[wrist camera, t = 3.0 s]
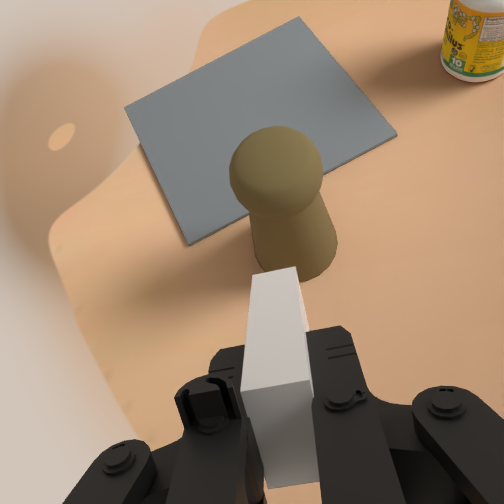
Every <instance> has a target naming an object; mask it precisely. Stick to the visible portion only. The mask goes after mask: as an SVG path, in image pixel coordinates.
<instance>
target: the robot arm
mask: <svg viewBox="0 0 504 504" xmlns="http://www.w3.org/2000/svg"><path fill="white" fill-rule="evenodd" d="M208 372H209V374H208V375H205V376H201V377H198V378H195V379H193V380H191V381H190V382H188V383H186V384H185V385H184V386H183V387H181V388H180V389H179V390H178V392H177V393H176V395H175V397H174V399H175V402H176V405H177V408H178V411H179V414H180V417H181V420H182V422H183V425H184V432H183V436H182V438H180V439H179V440H177V441H175V442H173V443H171V444H169V445H166V446H164V447H162V448H159V449H157V450H154V451H152V452H151V451H150V448H149V446H148V445H147V444H146V443H145V442H144V441H140V440H136V439H134V440H127V441H122V442H120V443H117V444H115V445H113V446H111V447H109V448H108V449H106V450H105V451H103V452H102V453H101V454H100V455H99V456H98V457H97V458H96V459H95V460H94V462H93V463H92V464H91V466H90V467H89V468H88V470H87V471H86V472H85V474H84V475H83V476H82V478H81V479H80V480H79V482H78V483H77V484H76V486H75V487H74V489H73V490H72V491H71V493H70V494H69V495H68V497H67V498H66V499H65V501H64V502H63V504H267V500H266V497H265V494H264V490H263V488H264V476H265V480H266V483H267V487H268V489H272V488H279V487H286V486H292V485H299V484H306V483H312V482H319V481H320V489H321V498H322V504H504V419H502V418H501V417H500V416H499V415H498V414H497V413H496V412H495V411H493V410H492V409H491V408H490V407H489V406H488V405H487V404H486V403H484V402H483V401H482V400H481V399H480V398H479V397H478V396H476V395H475V394H473V393H471V392H470V391H468V390H466V389H462V388H458V387H455V386H438V387H432V388H428V389H426V390H424V391H422V392H420V393H419V394H418V395H417V396H416V397H415V398H414V400H413V402H412V405H400V404H393V403H388V402H385V401H382V400H380V399H378V398H377V397H375V396H374V395H373V394H372V393H371V392H370V391H369V389H368V388H367V385H366V382H365V379H364V375H363V372H362V369H361V366H360V362H359V359H358V356H357V353H356V350H355V346H354V343H353V340H352V337H351V333H349V332H348V331H347V330H346V329H344V328H343V327H342V326H335V327H330V328H324V329H319V330H313V331H310V330H309V325H308V321H307V316H306V312H305V307H304V303H303V298H302V294H301V289H300V285H299V280H298V276H297V271H296V267H290V268H285V269H280V270H275V271H270V272H265V273H260V274H255V275H252V285H251V295H250V304H249V314H248V323H247V333H246V342H245V345H240V346H235V347H229V348H224V349H220V350H219V351H218V352H217V354H216V355H215V356H214V357H213V358H212V360H211V362H210V367H209V371H208Z"/></svg>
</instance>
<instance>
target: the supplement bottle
mask: <svg viewBox="0 0 504 504" xmlns="http://www.w3.org/2000/svg"><path fill="white" fill-rule="evenodd" d="M441 62H442V65H443V67H444V68H445V70H446V71H447V72H448V73H450V74H451V75H453V76H454V77H456V78H458V79H460V80H463V81H467V82H483V81H488V80H491V79H494V78H496V77H498V76H499V75H501V74H502V73H504V0H451V1H450V7H449V13H448V18H447V22H446V28H445V33H444V38H443V43H442V49H441Z"/></svg>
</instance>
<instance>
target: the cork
mask: <svg viewBox="0 0 504 504" xmlns="http://www.w3.org/2000/svg"><path fill="white" fill-rule="evenodd" d="M229 178H230V186H231V188H232V190H233V192H234V194H235V196H236V198H237V200H238V202H239V203H240V204H242V205H243V206H244V207H245V208H246V209H247V210H248V211H249V217H250V223H251V230H252V236H253V242H254V249H255V255H256V258H257V260H258V262H259V264H260V266H261V268H262V269H263V270H264V271H265V272H270V271H275V270H280V269H285V268H290V267H296V271H297V276H298V280H299V282H303V281H308V280H310V279H312V278H314V277H316V276H319V275H320V274H321V273H322V272H323V271H324V270H326V269H327V268H328V267H329V266H330V264H331V262H332V260H333V259H334V257H335V255H336V249H337V244H338V243H337V237H336V231H335V229H334V226H333V224H332V221H331V219H330V217H329V214H328V212H327V209H326V207H325V204H324V202H323V199H322V197H321V194H320V192H319V190H320V187H321V183H322V178H323V165H322V160H321V155H320V153H319V152H318V150H317V148H316V147H315V145H314V143H313V142H312V140H311V139H309V138H308V137H307V136H306V135H304V134H303V133H302V132H300V131H297V130H295V129H292V128H289V127H283V126H272V127H267V128H262V129H260V130H258V131H255V132H253V133H251V134H250V135H249V136H247V137H246V138H245V139H244V140H243V141H241V143H240V144H239V146H238V147H237V149H236V150H235V152H234V153H233V155H232V158H231V162H230V165H229Z"/></svg>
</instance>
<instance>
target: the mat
mask: <svg viewBox="0 0 504 504" xmlns="http://www.w3.org/2000/svg"><path fill="white" fill-rule="evenodd" d="M124 109H125V111H126V113H127V115H128V117H129V119H130V121H131V123H132V126H133V128H134V130H135V132H136V134H137V136H138V138H139V141H140V143H141V145H142V147H143V149H144V151H145V153H146V155H147V158H148V160H149V162H150V164H151V166H152V168H153V170H154V172H155V175H156V177H157V179H158V181H159V183H160V185H161V187H162V189H163V192H164V194H165V196H166V198H167V200H168V202H169V204H170V206H171V209H172V211H173V213H174V215H175V217H176V219H177V221H178V223H179V226H180V228H181V230H182V232H183V234H184V236H185V238H186V240H187V243H188V245H189V246H191V245H193V244H194V243H196V242H198V241H200V240H202V239H204V238H206V237H208V236H210V235H211V234H213V233H215V232H217V231H219V230H221V229H223V228H225V227H227V226H228V225H230V224H232V223H234V222H236V221H238V220H240V219H242V218H244V217H245V216H247V215H249V211H248V210H247V209H246V208H245V207H244V206H243V205H242V204H240V203H239V202H238V200H237V198H236V196H235V194H234V192H233V190H232V188H231V186H230V178H229V165H230V162H231V158H232V155H233V153H234V152H235V150H236V149H237V147H238V146H239V144H240V143H241V141H243V140H244V139H245V138H246V137H247V136H249V135H250V134H251V133H253V132H255V131H258V130H260V129H262V128H267V127H272V126H283V127H289V128H292V129H295V130H297V131H300V132H302V133H303V134H304V135H306V136H307V137H308V138H309V139H311V140H312V142H313V143H314V145H315V147H316V148H317V150H318V152H319V153H320V155H321V160H322V165H323V175H325V174H327V173H328V172H330V171H332V170H334V169H336V168H338V167H340V166H342V165H344V164H345V163H347V162H349V161H351V160H353V159H355V158H357V157H359V156H361V155H362V154H364V153H366V152H368V151H370V150H372V149H374V148H376V147H378V146H379V145H381V144H383V143H385V142H387V141H389V140H391V139H393V138H395V137H396V136H397V132H396V131H395V130H394V129H393V128H392V126H391V125H390V124H389V123H388V122H387V120H386V119H385V118H384V117H383V116H382V114H381V113H380V112H379V111H378V110H377V109H376V107H375V106H374V105H373V104H372V103H371V101H370V100H369V99H368V98H367V97H366V95H365V94H364V93H363V92H362V91H361V90H360V88H359V87H358V86H357V85H356V84H355V82H354V81H353V80H352V79H351V78H350V76H349V75H348V74H347V73H346V72H345V70H344V69H343V68H342V67H341V66H340V65H339V63H338V62H337V61H336V60H335V59H334V57H333V56H332V55H331V54H330V53H329V51H328V50H327V49H326V48H325V47H324V46H323V44H322V43H321V42H320V41H319V40H318V38H317V37H316V36H315V35H314V34H313V32H312V31H311V30H310V29H309V28H308V26H307V25H306V24H305V23H304V22H303V21H302V19H301V18H300V17H299V16H298V17H296V18H294V19H293V20H291V21H289V22H287V23H285V24H283V25H281V26H279V27H277V28H275V29H273V30H271V31H270V32H268V33H266V34H264V35H262V36H260V37H258V38H256V39H254V40H252V41H250V42H248V43H247V44H245V45H243V46H241V47H239V48H237V49H235V50H233V51H231V52H229V53H227V54H225V55H224V56H222V57H220V58H218V59H216V60H214V61H212V62H210V63H208V64H206V65H204V66H202V67H201V68H199V69H197V70H195V71H193V72H191V73H189V74H187V75H185V76H183V77H181V78H180V79H178V80H176V81H174V82H172V83H170V84H168V85H166V86H164V87H162V88H160V89H158V90H157V91H155V92H153V93H151V94H149V95H147V96H145V97H143V98H141V99H139V100H138V101H135V102H134V103H132V104H130V105H128V106H126V107H124Z"/></svg>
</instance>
